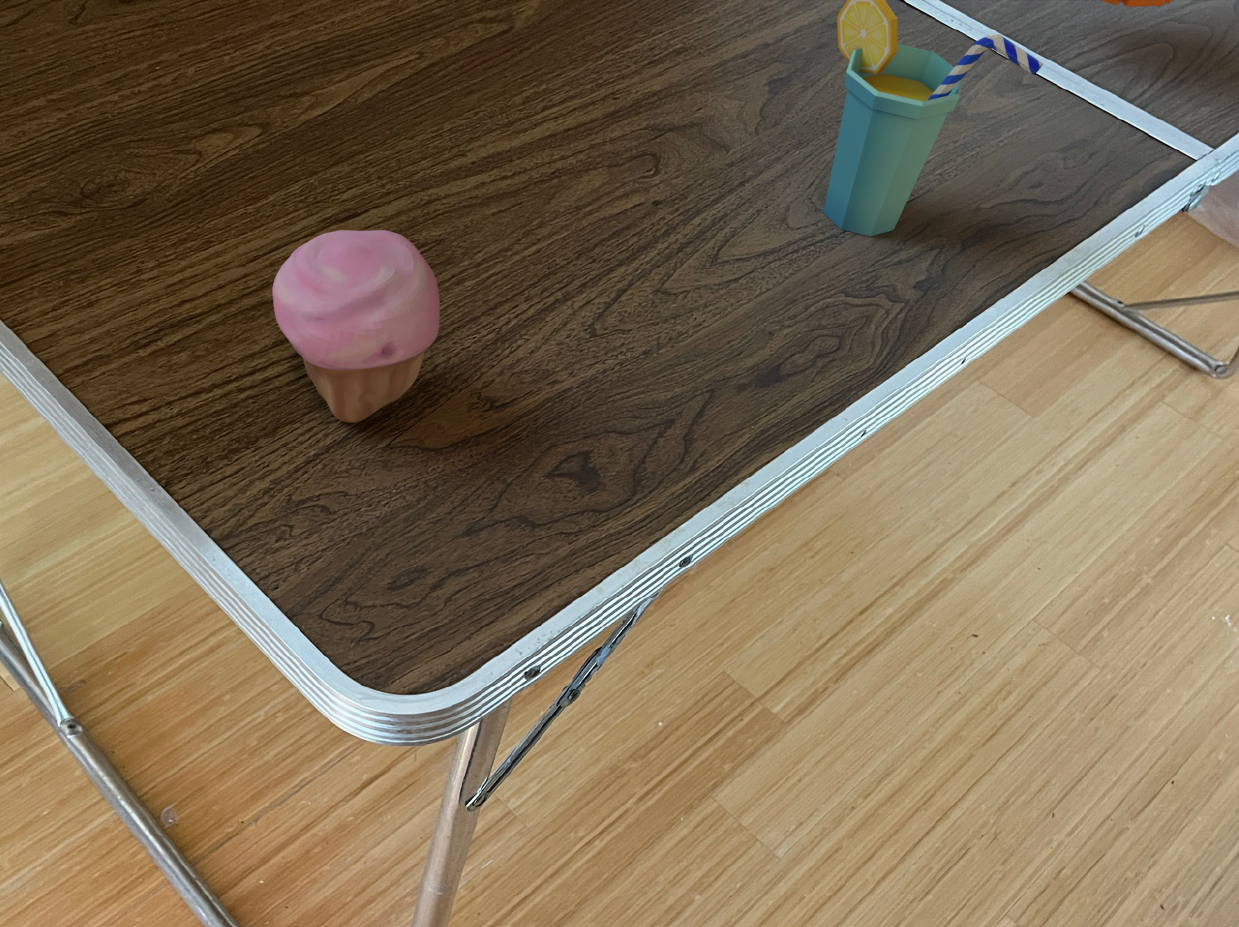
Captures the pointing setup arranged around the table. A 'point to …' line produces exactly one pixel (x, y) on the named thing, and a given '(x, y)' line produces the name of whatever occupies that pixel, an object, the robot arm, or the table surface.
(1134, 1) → the ring
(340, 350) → the cupcake
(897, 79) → the cup
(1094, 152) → the table surface
